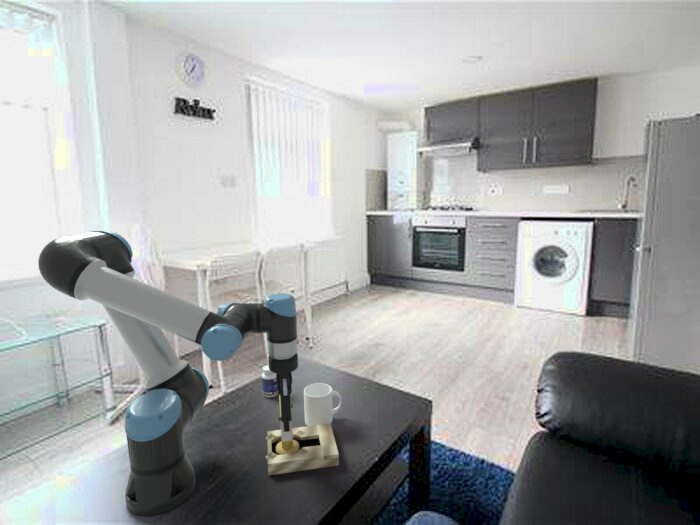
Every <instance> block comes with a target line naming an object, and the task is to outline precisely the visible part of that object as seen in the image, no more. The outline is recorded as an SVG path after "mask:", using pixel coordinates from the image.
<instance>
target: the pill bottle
mask: <svg viewBox="0 0 700 525" xmlns="http://www.w3.org/2000/svg"><path fill="white" fill-rule="evenodd" d="M261 392H262V396H263V397H265V398H274V397H276V396H279V394H278V385H277V379H276V373H273V372H271V371H270V370H269V364H267V365H264V366H263V367H262V373H261Z"/></svg>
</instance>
